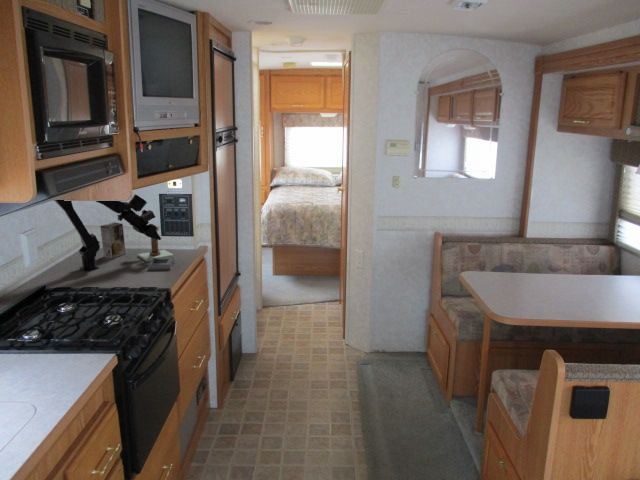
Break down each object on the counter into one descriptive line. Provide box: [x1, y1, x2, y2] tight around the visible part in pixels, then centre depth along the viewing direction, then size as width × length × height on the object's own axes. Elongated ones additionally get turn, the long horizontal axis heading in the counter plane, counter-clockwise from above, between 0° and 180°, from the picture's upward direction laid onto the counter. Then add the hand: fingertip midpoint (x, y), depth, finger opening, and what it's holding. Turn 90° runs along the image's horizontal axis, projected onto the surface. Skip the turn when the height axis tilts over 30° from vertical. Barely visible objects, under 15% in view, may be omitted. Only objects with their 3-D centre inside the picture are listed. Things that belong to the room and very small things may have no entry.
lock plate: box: [147, 256, 176, 271], centre depth 255 cm, size 10×12×2 cm
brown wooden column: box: [149, 225, 160, 256], centre depth 269 cm, size 5×8×15 cm, turn 38°
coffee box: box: [99, 222, 127, 259], centre depth 272 cm, size 9×6×16 cm
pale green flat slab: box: [137, 249, 175, 263], centre depth 271 cm, size 14×12×1 cm
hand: (157, 237), depth 269 cm, fingers open, 9 cm apart
